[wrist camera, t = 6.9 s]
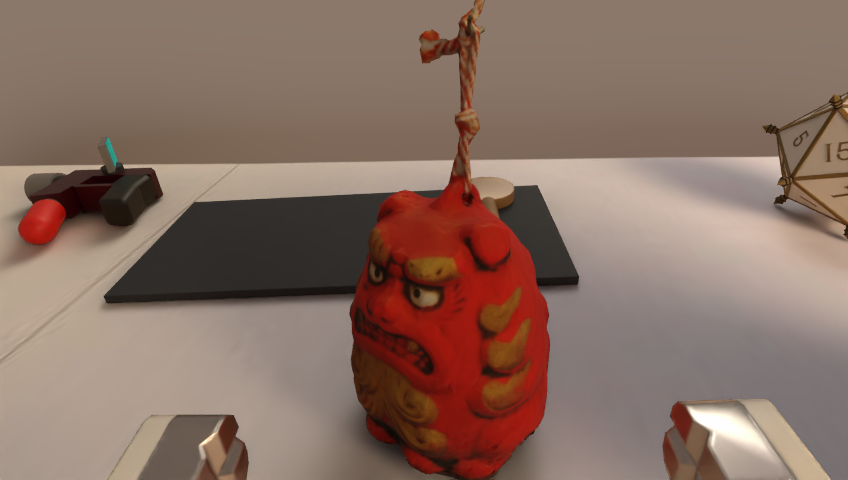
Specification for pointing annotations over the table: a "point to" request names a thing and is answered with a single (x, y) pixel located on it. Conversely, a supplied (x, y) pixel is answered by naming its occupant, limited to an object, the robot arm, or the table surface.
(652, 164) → the table surface
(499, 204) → the spoon
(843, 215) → the game die
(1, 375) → the table surface
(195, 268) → the placemat
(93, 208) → the toy gun
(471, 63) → the red clay folk toy
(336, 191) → the table surface
